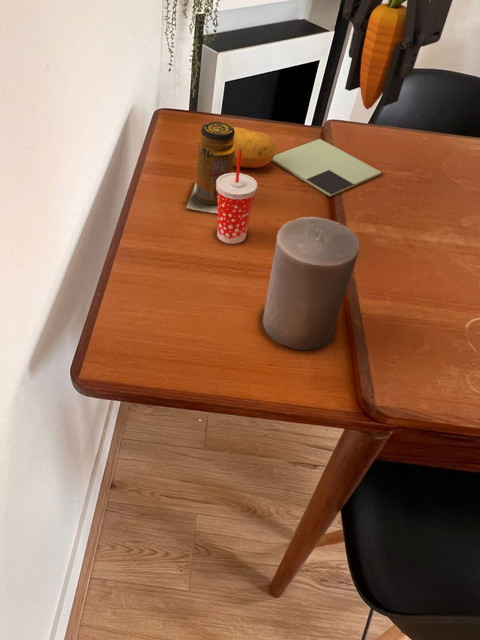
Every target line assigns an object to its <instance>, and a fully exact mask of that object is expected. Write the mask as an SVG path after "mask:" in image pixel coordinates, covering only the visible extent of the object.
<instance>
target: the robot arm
mask: <svg viewBox="0 0 480 640" xmlns="http://www.w3.org/2000/svg"><path fill="white" fill-rule="evenodd" d="M383 1H384V0H344V5H343V9H342V17H343V19H344V20H348V21H349V22H350V23H351V24H352V29H353V31H352V35H351V40H350V44H349V49H348V57H349V58H350V64H349V70H348V74H347V78H346V83H345V87H344V90H346V91H348V92H351V91H354V90H356V89H359V88H360V73H361V60H362V53H363V47H364V42H365V37H366V32H367V28H368V23H369V19H370V16H371V14H372V12H373V11H374V9H375V8H376V7H377V6H378V5H380V4H383ZM453 1H454V0H406V7H407V8H406V18H405V28H404V38H403V42H402V43H399V45H396V47H395V50H394V54H393V57H392V61H391V64H390V68H389V72H388V75H387V79H386V82H385V86H384V89H383V93H382V94H381V96H380V100H379V105H380V106H382V107H387V106H389V105H392V104H395V103H397V102H399V98H400V94H401V92H402V88H403V85H404V81H405V79H406V78H408V77H410V76H411V75H412V74H413V71H414V69H415V65H416V63H417V59H418V57H419V53H420V49H421V47H427V46H429V45H432V44H435V43H438V42H439V41H440V40H441V38H442V34H443V32H444V28H445V25H446V22H447V20H448V19H447V18H448V16H449V13H450V11H451V10H450V9H451V6H452V3H453Z"/></svg>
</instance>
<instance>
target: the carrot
mask: <svg viewBox="0 0 480 640" xmlns="http://www.w3.org/2000/svg"><path fill="white" fill-rule="evenodd" d="M405 2H407V0H387V3H382V4H380V5H378V6H377V7H376V8H375V9H374V11H373V12H372V14H371V16H370V19H369V23H368V28H367V32H366V37H365V42H364V47H363V53H362V60H361V73H360V87H359V88H360V95H361V100H362V104H363V106H364V108H365V110H369V109H371V108H373V106H374V105H375V104H376V102H377V101H378V100H379V99H380V98H381V97H382V93H383V89H384V86H385V82H386V79H387V75H388V72H389V68H390V64H391V61H392V57H393V54H394V50H395V47H396V45H399V43H402V42H403V38H404V28H405V18H406V8H407V6H406V5H404V4H403V3H405Z"/></svg>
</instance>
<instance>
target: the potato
mask: <svg viewBox="0 0 480 640" xmlns="http://www.w3.org/2000/svg"><path fill="white" fill-rule="evenodd" d="M233 128H234V131H235V134H234V145H235V158H234V167H236V168H237V160H238V150H239V149H241V150H242V154H241V163H240V168H245V169H246V168H248V169H257V168H261V167H263V166H265V165H267V164H270V163H271V162H272V159H273V158H274V156H275V155H277V152H278V142H276V140H275V139H274V138H273V137H271V136H270V135H268V134H267V133H264V132H260V131H255V130H252V129H248V128H244V127H238V126H237V127H236V126H235V127H234V126H233Z"/></svg>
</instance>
